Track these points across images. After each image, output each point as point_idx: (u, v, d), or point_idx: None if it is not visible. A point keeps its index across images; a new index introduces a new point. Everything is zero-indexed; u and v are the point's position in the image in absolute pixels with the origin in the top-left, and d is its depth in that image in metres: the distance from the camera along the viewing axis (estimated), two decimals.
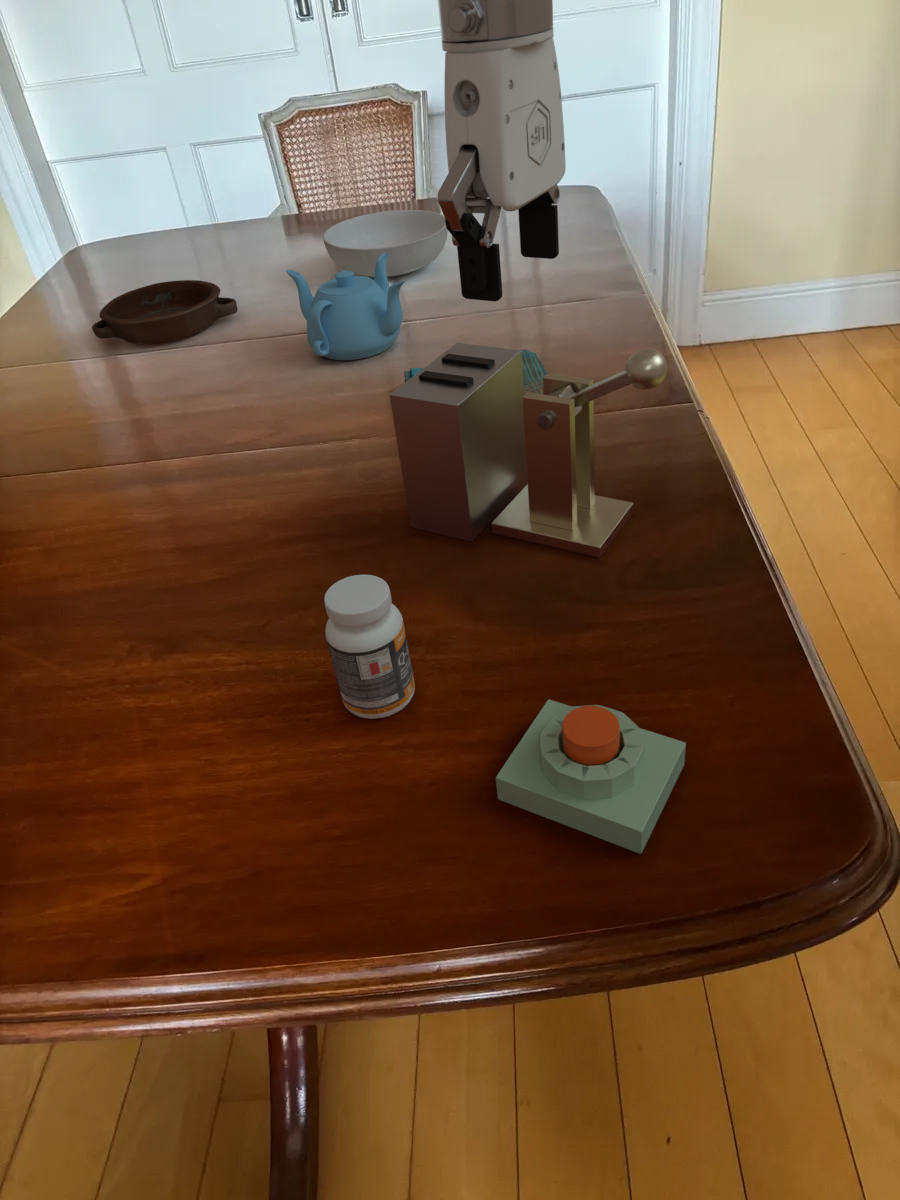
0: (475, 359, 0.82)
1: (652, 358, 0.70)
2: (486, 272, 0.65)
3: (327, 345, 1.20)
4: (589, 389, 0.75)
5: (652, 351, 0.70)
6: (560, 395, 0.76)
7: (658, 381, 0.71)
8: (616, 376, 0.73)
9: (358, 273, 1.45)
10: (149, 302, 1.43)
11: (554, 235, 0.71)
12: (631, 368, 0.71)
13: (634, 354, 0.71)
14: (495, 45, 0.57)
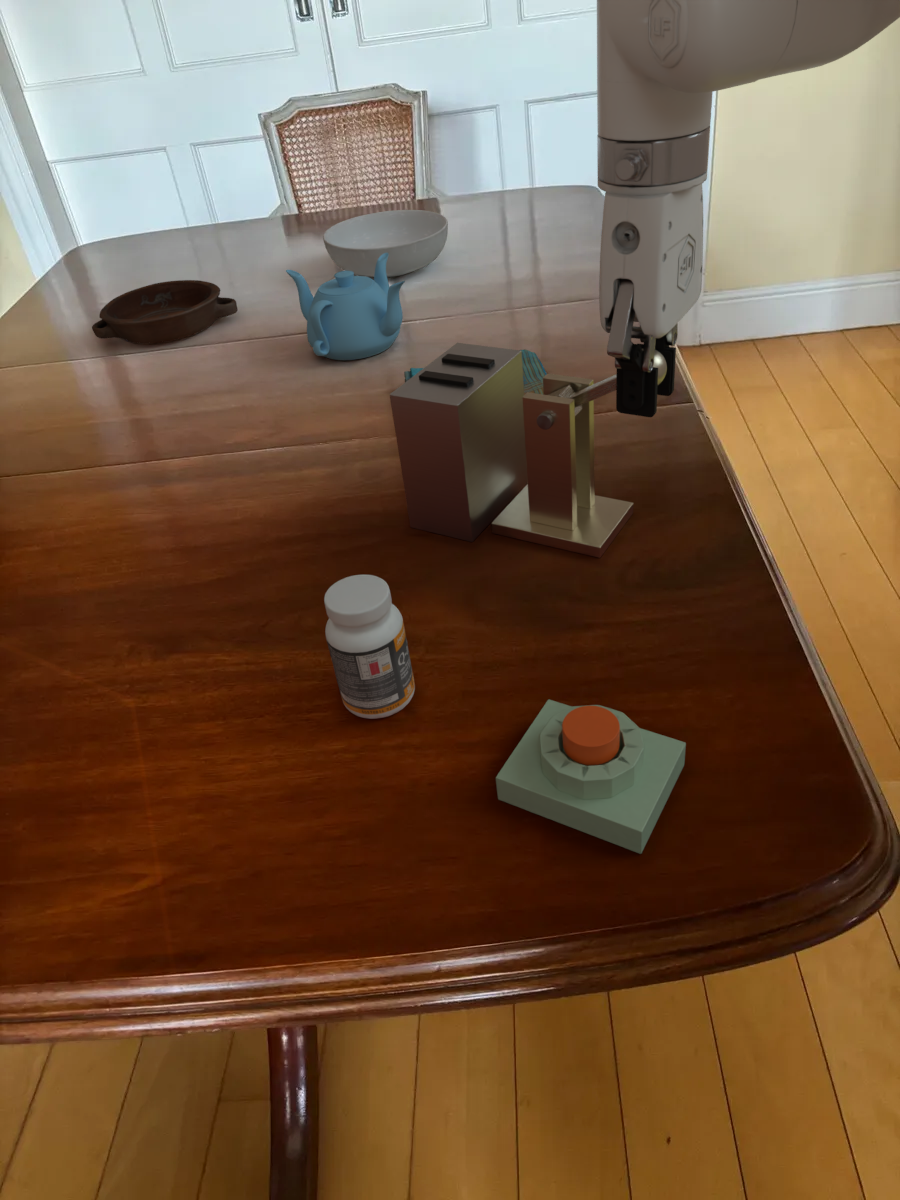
0: (475, 359, 0.82)
1: None
2: (644, 392, 0.70)
3: (327, 345, 1.20)
4: (589, 389, 0.75)
5: None
6: (560, 395, 0.76)
7: (658, 381, 0.71)
8: None
9: (358, 273, 1.45)
10: (149, 302, 1.43)
11: (671, 374, 0.73)
12: None
13: None
14: (657, 190, 0.60)
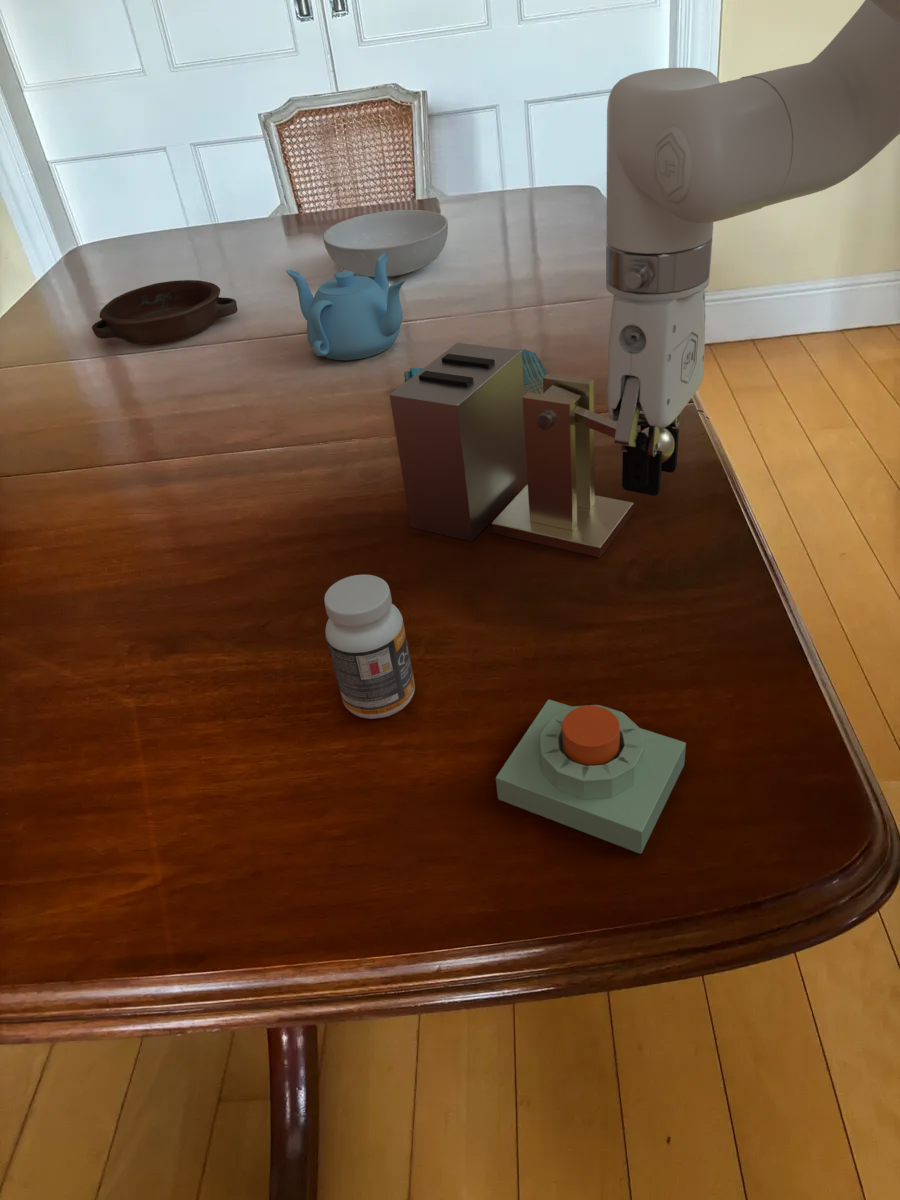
0: (475, 359, 0.82)
1: (668, 447, 0.74)
2: (648, 473, 0.74)
3: (327, 345, 1.20)
4: (597, 421, 0.76)
5: (671, 439, 0.74)
6: None
7: None
8: None
9: (358, 273, 1.45)
10: (149, 302, 1.43)
11: (674, 453, 0.77)
12: None
13: None
14: (662, 297, 0.64)
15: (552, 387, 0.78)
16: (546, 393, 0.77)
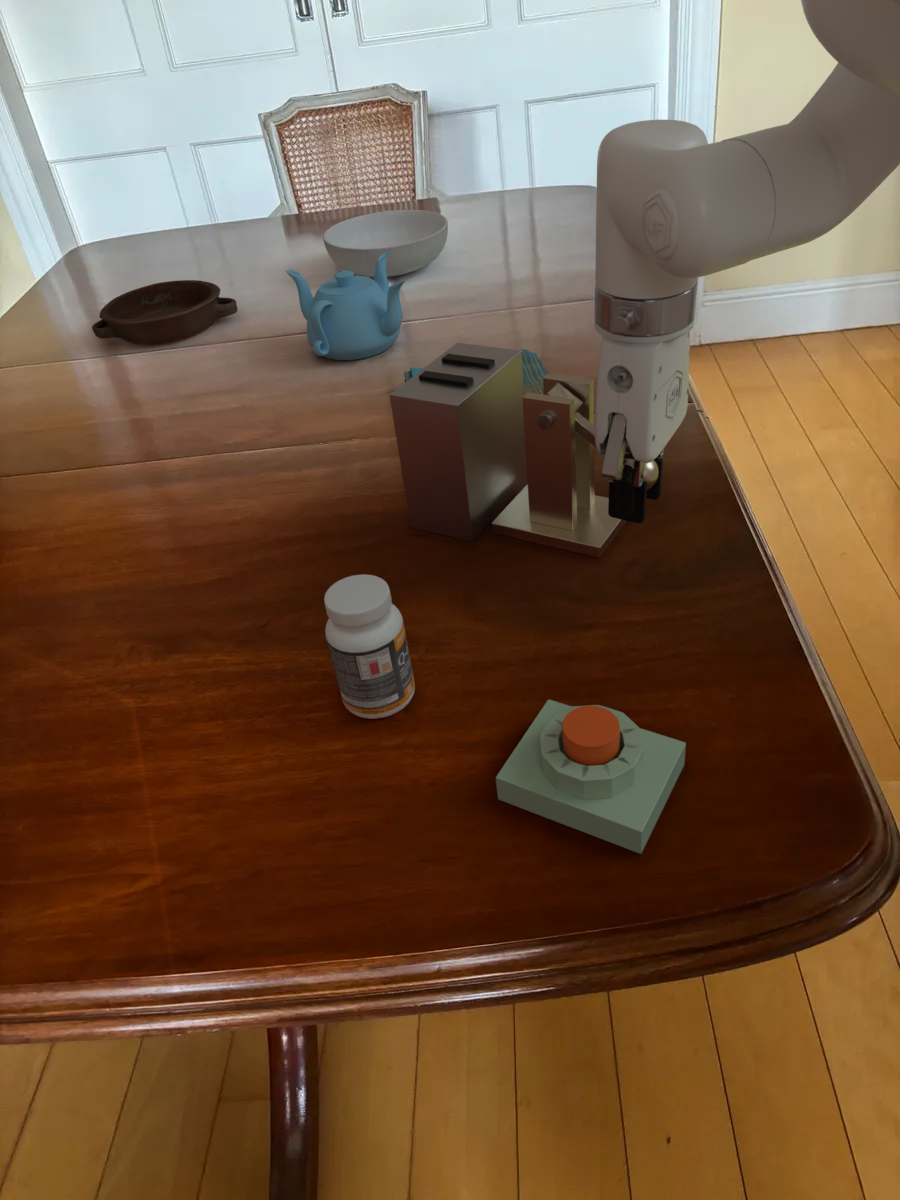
0: (475, 359, 0.82)
1: (652, 480, 0.76)
2: (634, 502, 0.76)
3: (327, 345, 1.20)
4: (593, 434, 0.77)
5: (656, 473, 0.76)
6: None
7: None
8: None
9: (358, 273, 1.45)
10: (149, 302, 1.43)
11: (658, 482, 0.79)
12: None
13: None
14: (649, 340, 0.66)
15: (558, 386, 0.77)
16: (552, 392, 0.76)
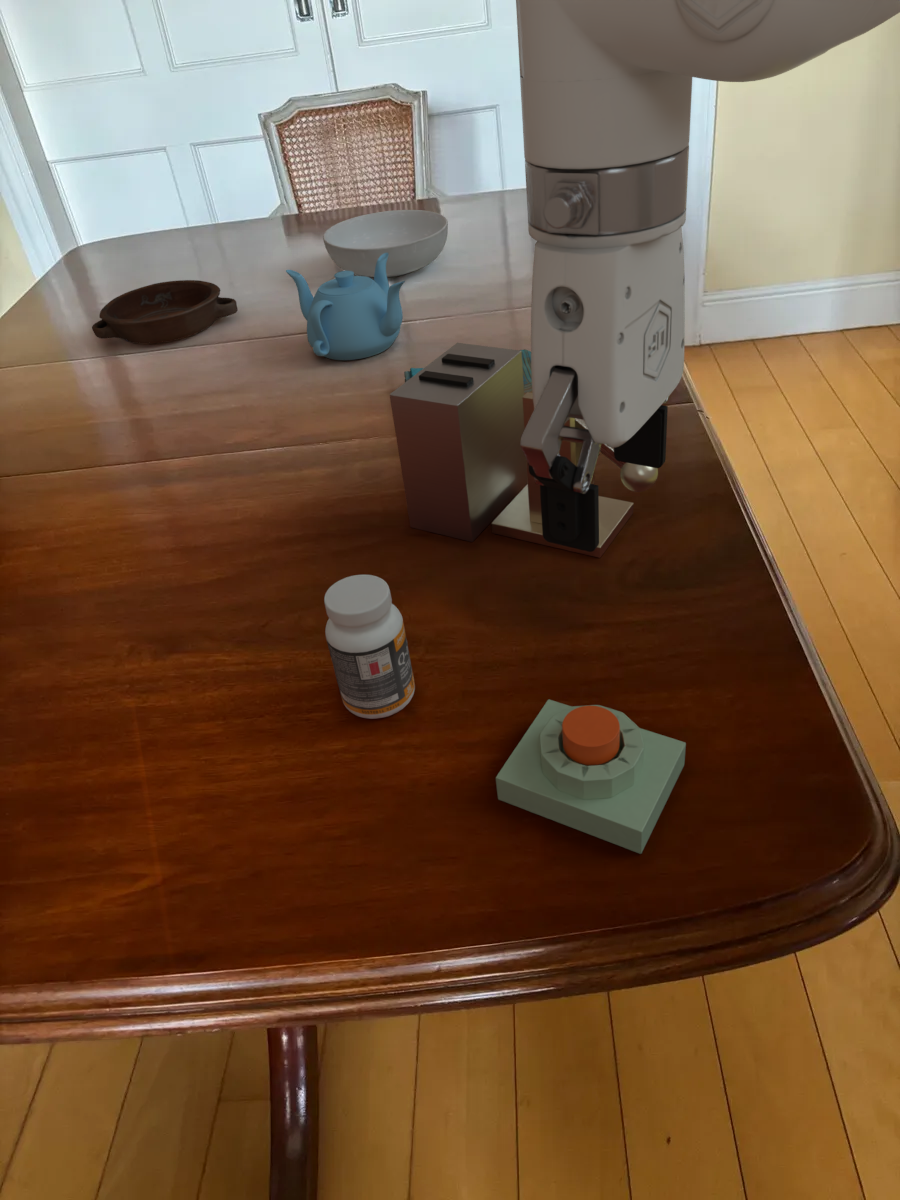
0: (475, 359, 0.82)
1: (652, 481, 0.76)
2: (579, 518, 0.48)
3: (327, 345, 1.20)
4: None
5: (656, 474, 0.76)
6: None
7: (636, 491, 0.78)
8: None
9: (358, 273, 1.45)
10: (149, 302, 1.43)
11: (661, 441, 0.54)
12: (635, 471, 0.76)
13: None
14: (608, 241, 0.40)
15: None
16: None
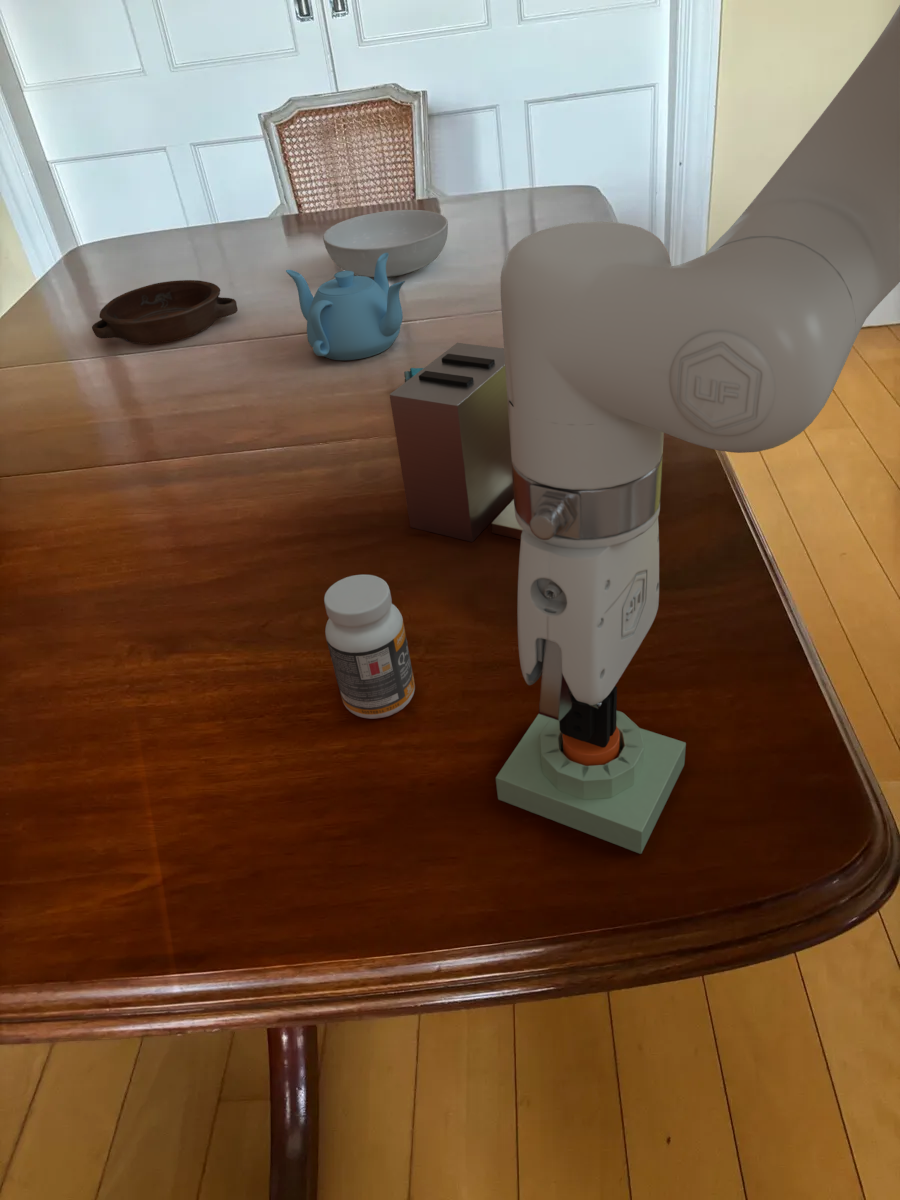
0: (475, 359, 0.82)
1: None
2: (593, 723, 0.55)
3: (327, 345, 1.20)
4: None
5: None
6: None
7: None
8: None
9: (358, 273, 1.45)
10: (149, 302, 1.43)
11: (612, 715, 0.56)
12: None
13: None
14: (589, 544, 0.44)
15: None
16: None
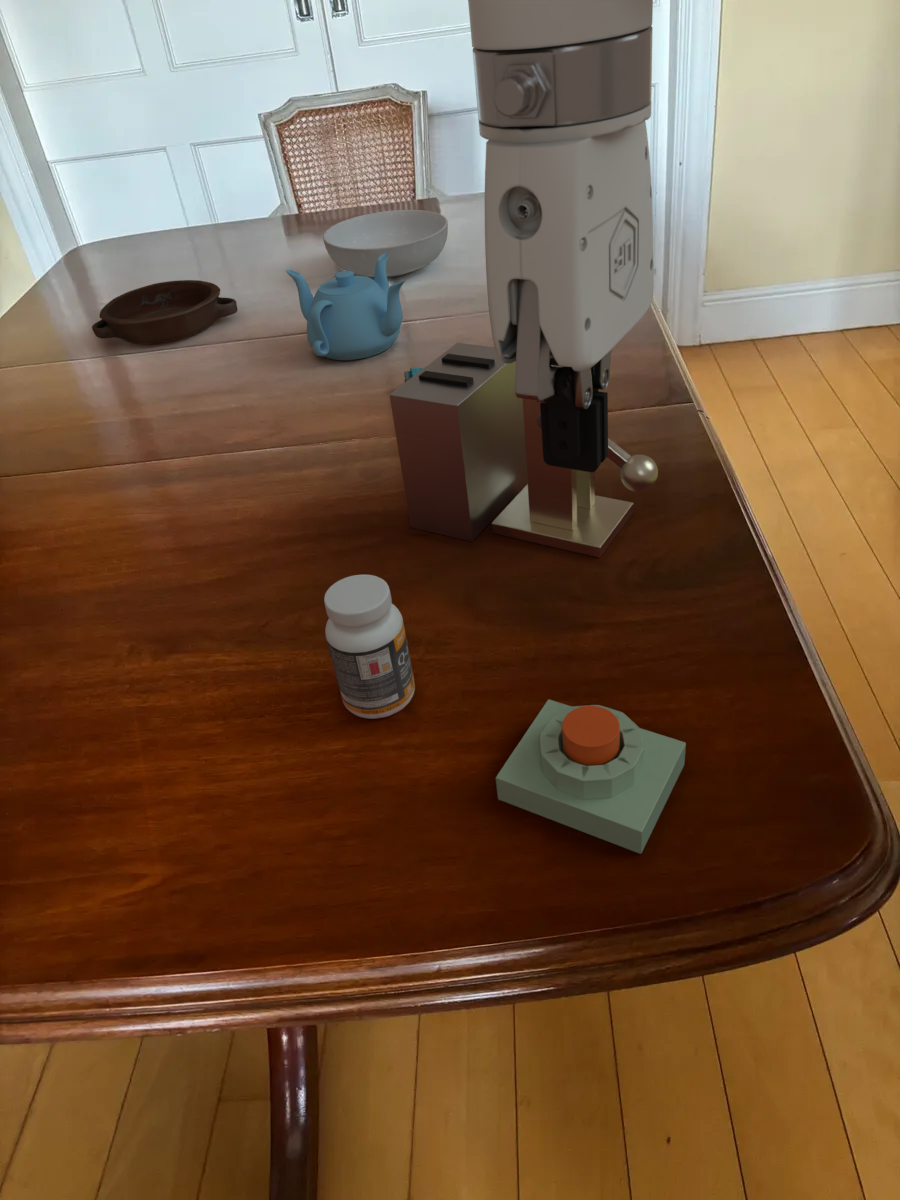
0: (475, 359, 0.82)
1: (652, 481, 0.76)
2: (581, 437, 0.47)
3: (327, 345, 1.20)
4: None
5: (656, 474, 0.76)
6: None
7: (636, 491, 0.78)
8: (618, 453, 0.77)
9: (358, 273, 1.45)
10: (149, 302, 1.43)
11: (602, 432, 0.48)
12: (635, 471, 0.76)
13: (646, 463, 0.76)
14: (567, 133, 0.36)
15: None
16: None
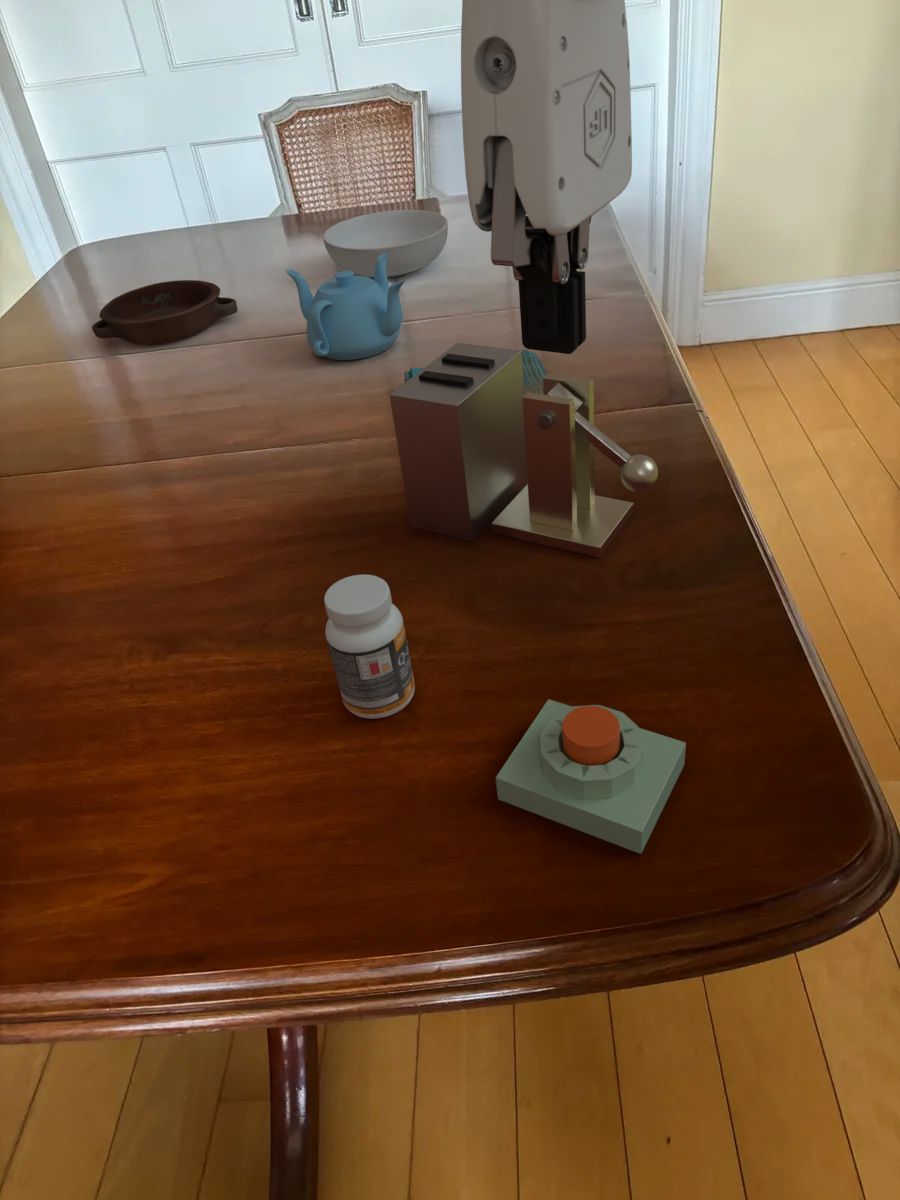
0: (475, 359, 0.82)
1: (652, 481, 0.76)
2: (558, 316, 0.48)
3: (327, 345, 1.20)
4: (593, 434, 0.77)
5: (656, 474, 0.76)
6: None
7: (636, 491, 0.78)
8: (618, 453, 0.77)
9: (358, 273, 1.45)
10: (149, 302, 1.43)
11: (580, 313, 0.49)
12: (635, 471, 0.76)
13: (646, 463, 0.76)
14: None
15: (558, 386, 0.77)
16: (552, 392, 0.76)
